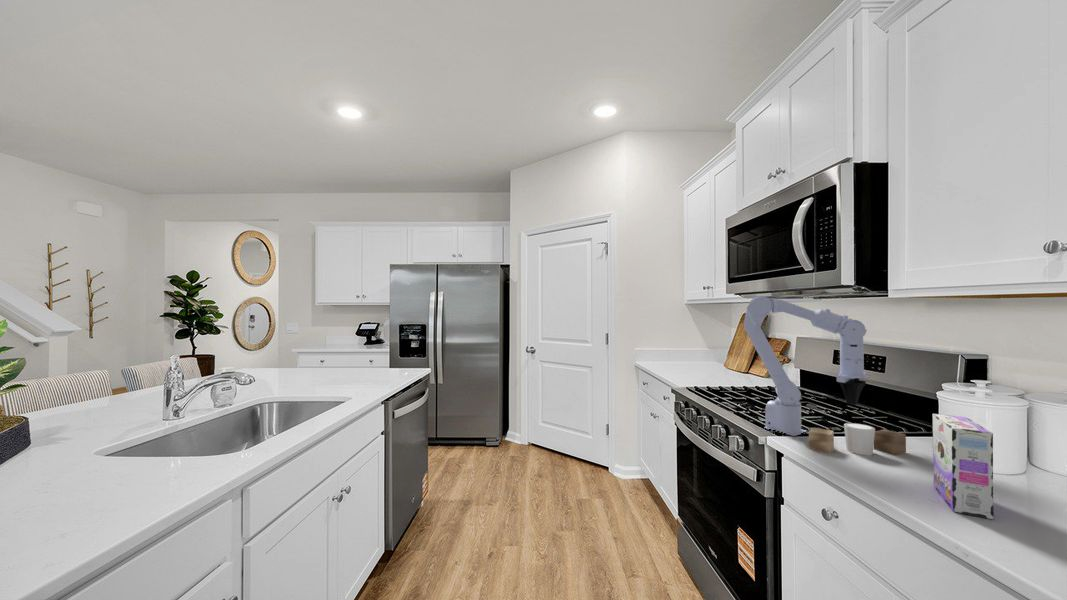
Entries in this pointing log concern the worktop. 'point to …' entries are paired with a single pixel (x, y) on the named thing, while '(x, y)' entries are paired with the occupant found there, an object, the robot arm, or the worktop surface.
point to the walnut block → (890, 442)
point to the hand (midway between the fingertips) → (852, 404)
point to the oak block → (821, 440)
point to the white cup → (859, 438)
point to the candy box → (963, 465)
